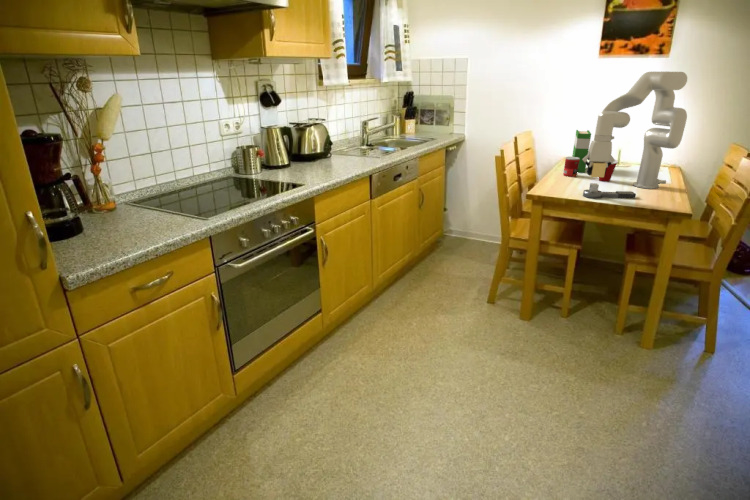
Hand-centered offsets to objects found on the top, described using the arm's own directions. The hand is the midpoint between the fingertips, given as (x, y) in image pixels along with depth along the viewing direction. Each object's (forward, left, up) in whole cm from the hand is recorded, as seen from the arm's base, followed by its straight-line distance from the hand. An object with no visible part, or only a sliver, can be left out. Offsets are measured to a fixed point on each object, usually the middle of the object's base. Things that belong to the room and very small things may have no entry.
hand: (595, 174), depth 229 cm
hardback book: (-12, -66, -12) cm, 68 cm away
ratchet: (-8, 0, -12) cm, 14 cm away
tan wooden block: (0, 0, -1) cm, 1 cm away
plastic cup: (-18, -36, -12) cm, 42 cm away
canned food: (-2, -48, -12) cm, 50 cm away
